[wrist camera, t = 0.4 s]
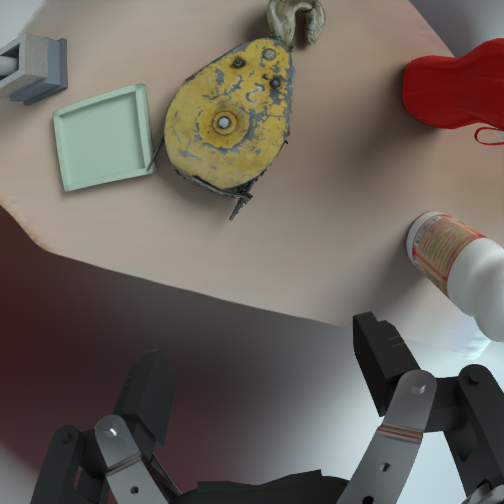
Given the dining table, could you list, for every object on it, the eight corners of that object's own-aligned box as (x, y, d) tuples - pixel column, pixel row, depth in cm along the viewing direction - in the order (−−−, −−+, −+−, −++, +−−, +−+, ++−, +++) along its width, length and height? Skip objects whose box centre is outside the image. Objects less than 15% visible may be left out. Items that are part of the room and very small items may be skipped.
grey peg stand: (27, 59, 28) (-22, 52, 17) (66, 39, 28) (19, 23, 17) (28, 105, 31) (-24, 107, 21) (67, 87, 31) (16, 81, 20)
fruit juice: (406, 210, 39) (553, 316, 13) (454, 208, 39) (591, 294, 13) (401, 269, 42) (509, 400, 17) (447, 263, 42) (557, 370, 16)
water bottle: (393, 125, 34) (543, 142, 11) (402, 53, 30) (539, 14, 7) (444, 144, 35) (584, 182, 12) (452, 77, 31) (587, 72, 8)
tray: (59, 112, 32) (52, 112, 31) (145, 85, 32) (141, 83, 30) (71, 189, 37) (64, 192, 35) (156, 171, 36) (152, 173, 35)
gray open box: (7, 62, 24) (-15, 60, 19) (47, 39, 24) (26, 32, 19) (7, 98, 26) (-16, 98, 21) (47, 77, 26) (24, 73, 21)
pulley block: (374, 17, 23) (234, 231, 33) (361, 33, 29) (240, 219, 39) (265, -38, 22) (129, 169, 31) (266, -17, 27) (148, 165, 37)
